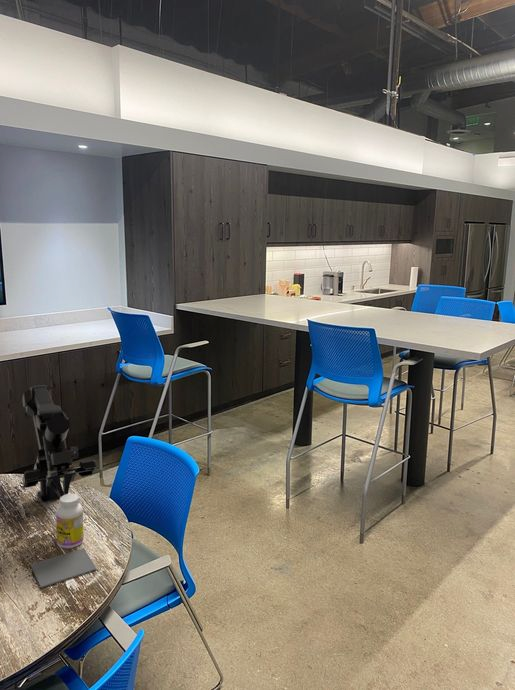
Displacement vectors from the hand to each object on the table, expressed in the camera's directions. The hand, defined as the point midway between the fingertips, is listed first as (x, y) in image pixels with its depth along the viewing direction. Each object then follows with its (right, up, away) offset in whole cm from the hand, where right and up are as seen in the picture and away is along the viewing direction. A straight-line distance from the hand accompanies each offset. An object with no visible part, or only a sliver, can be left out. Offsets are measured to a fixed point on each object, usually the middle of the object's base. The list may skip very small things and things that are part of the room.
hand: (65, 502), depth 142 cm
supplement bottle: (+2, -10, -3) cm, 10 cm away
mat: (+4, -12, -13) cm, 18 cm away
